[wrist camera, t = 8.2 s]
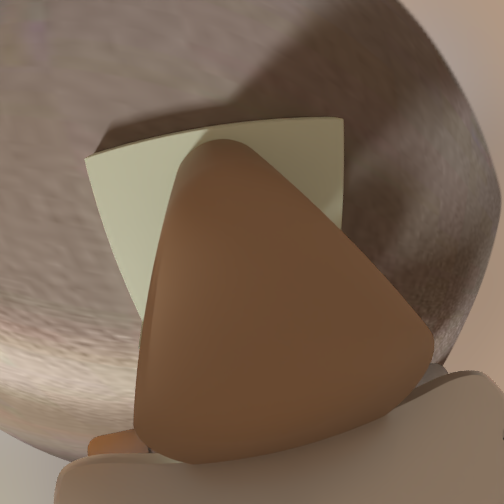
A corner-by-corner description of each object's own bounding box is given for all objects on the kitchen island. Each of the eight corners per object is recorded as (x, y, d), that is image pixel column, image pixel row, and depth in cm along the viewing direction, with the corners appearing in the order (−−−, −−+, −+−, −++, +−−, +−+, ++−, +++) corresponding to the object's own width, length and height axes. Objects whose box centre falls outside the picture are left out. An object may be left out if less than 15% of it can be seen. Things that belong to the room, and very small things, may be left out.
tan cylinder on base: (331, 116, 12) (563, 205, 2) (315, 374, 23) (358, 480, 13) (93, 153, 10) (-94, 325, 1) (192, 399, 21) (206, 514, 12)
